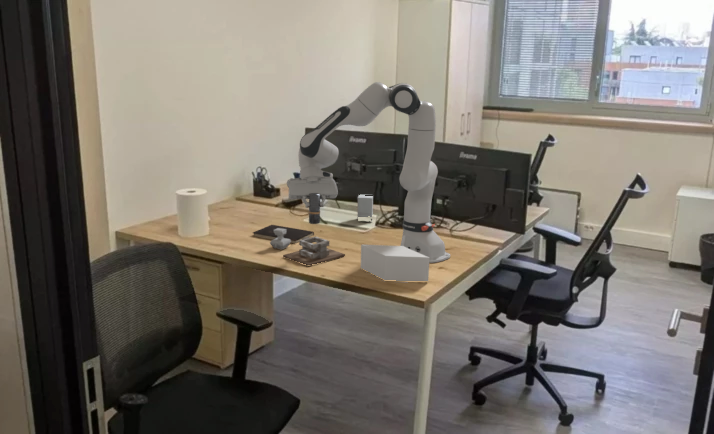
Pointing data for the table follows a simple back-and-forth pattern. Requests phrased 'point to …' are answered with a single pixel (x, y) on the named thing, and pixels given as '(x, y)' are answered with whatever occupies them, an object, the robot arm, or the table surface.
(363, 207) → the supplement box
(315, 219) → the tube
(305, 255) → the collar stand
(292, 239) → the hardcover book
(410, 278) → the grey wedge block
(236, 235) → the table surface
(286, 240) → the stamp
